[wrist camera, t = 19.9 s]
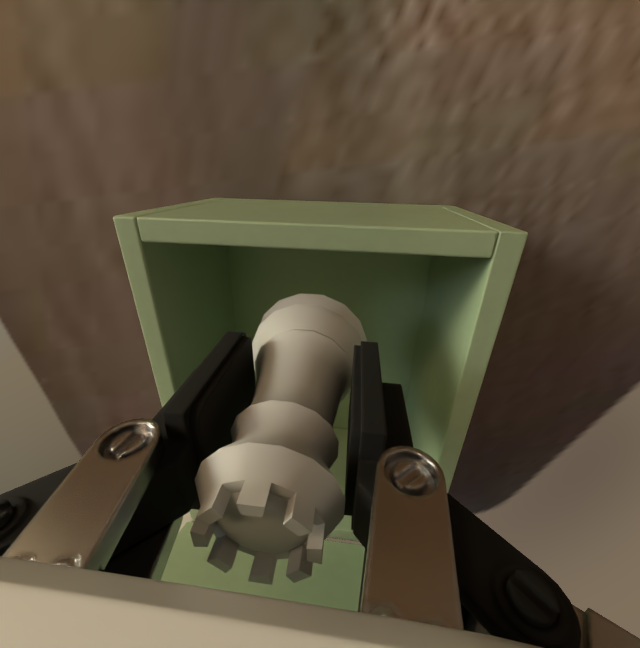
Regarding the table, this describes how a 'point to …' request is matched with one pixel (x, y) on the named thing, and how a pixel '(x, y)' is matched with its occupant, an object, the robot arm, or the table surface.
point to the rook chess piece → (282, 444)
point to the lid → (320, 589)
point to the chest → (332, 294)
